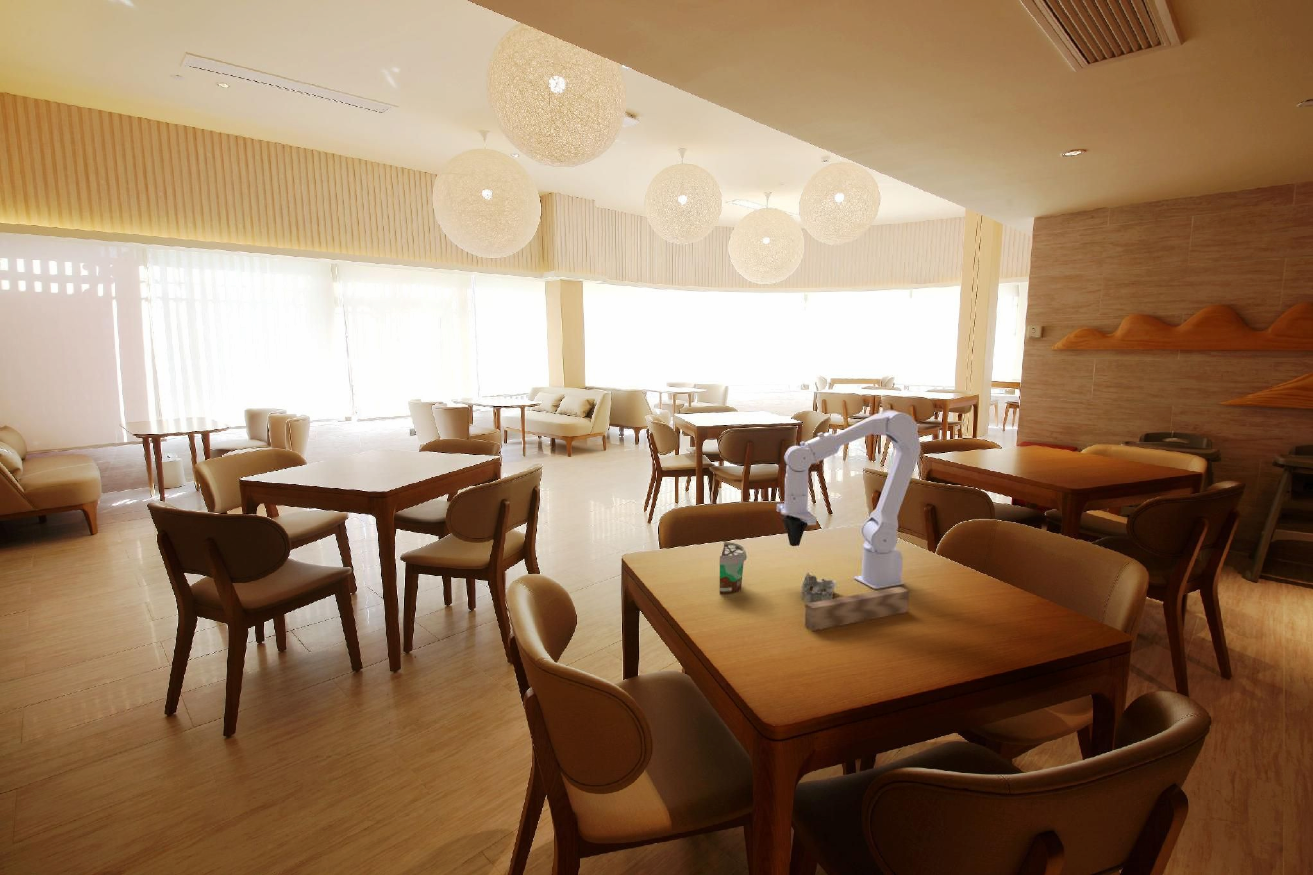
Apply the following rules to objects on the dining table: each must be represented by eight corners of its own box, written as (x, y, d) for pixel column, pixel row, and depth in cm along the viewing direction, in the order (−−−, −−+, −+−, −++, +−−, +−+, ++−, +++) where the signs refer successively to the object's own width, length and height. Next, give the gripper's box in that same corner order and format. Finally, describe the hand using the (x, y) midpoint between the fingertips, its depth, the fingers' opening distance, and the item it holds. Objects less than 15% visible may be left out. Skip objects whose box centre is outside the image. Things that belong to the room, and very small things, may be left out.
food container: (744, 598, 141) (745, 558, 139) (718, 596, 142) (719, 556, 140) (747, 579, 153) (748, 542, 151) (723, 577, 154) (724, 540, 152)
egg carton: (806, 586, 149) (806, 571, 148) (837, 591, 146) (837, 575, 145) (798, 602, 139) (798, 585, 139) (830, 607, 136) (831, 590, 136)
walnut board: (899, 607, 136) (900, 586, 135) (907, 611, 133) (909, 590, 133) (804, 625, 126) (805, 603, 126) (812, 630, 124) (812, 608, 123)
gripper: (767, 488, 155) (765, 538, 156) (799, 501, 141) (797, 555, 143) (790, 486, 157) (788, 535, 159) (824, 498, 144) (822, 552, 146)
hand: (794, 545), depth 151 cm, fingers closed
